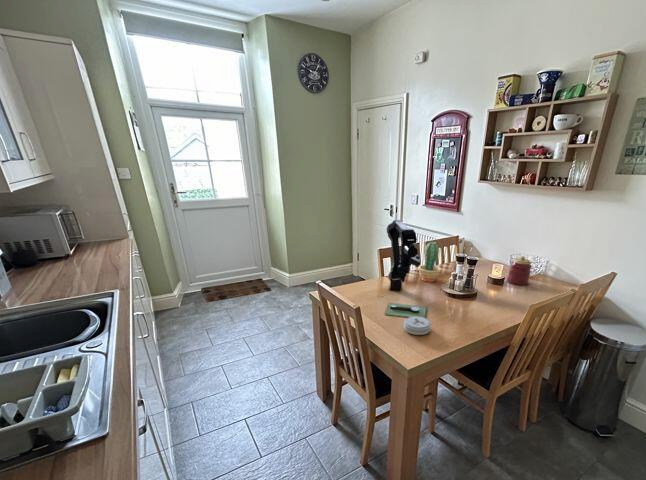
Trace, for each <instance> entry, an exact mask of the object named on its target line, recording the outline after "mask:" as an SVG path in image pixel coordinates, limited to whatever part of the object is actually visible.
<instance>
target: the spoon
mask: <svg viewBox="0 0 646 480" xmlns="http://www.w3.org/2000/svg"><path fill="white" fill-rule="evenodd" d="M390 309H396V310H405V311H411V312H412V313H419V311H420V309H419V308H418V307H412V308H409V307H400V306H390Z"/></svg>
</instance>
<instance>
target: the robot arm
mask: <svg viewBox="0 0 646 480" xmlns="http://www.w3.org/2000/svg"><path fill="white" fill-rule="evenodd" d="M386 233H387V237H388V239H389V240H390V245H391V246H390V247H391V259H392V260H391V261H392V265H391V267H390V271H389V273H388V275H387V276H388V277H387V278H388V281H390V285H389V291H396V292H401V290H402V289H403V283H405V280H406V277H407V274H409V273H410V269H411V266H414V267H416V268H418V267H419V266H420V265H421V263H422V259H421V257H420V255H418V254H419V249H418V248H417V247H416V246H415V245H416V244H418V243H417V241H418V238H417V233H416V232H415V230H414V228H412V227H408V226H407V225H406V224H405V223H404V222H403V220H402V219H394V220H392V222H390V223H389V224H388V225H387V227H386ZM400 243H401V245H400Z"/></svg>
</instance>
